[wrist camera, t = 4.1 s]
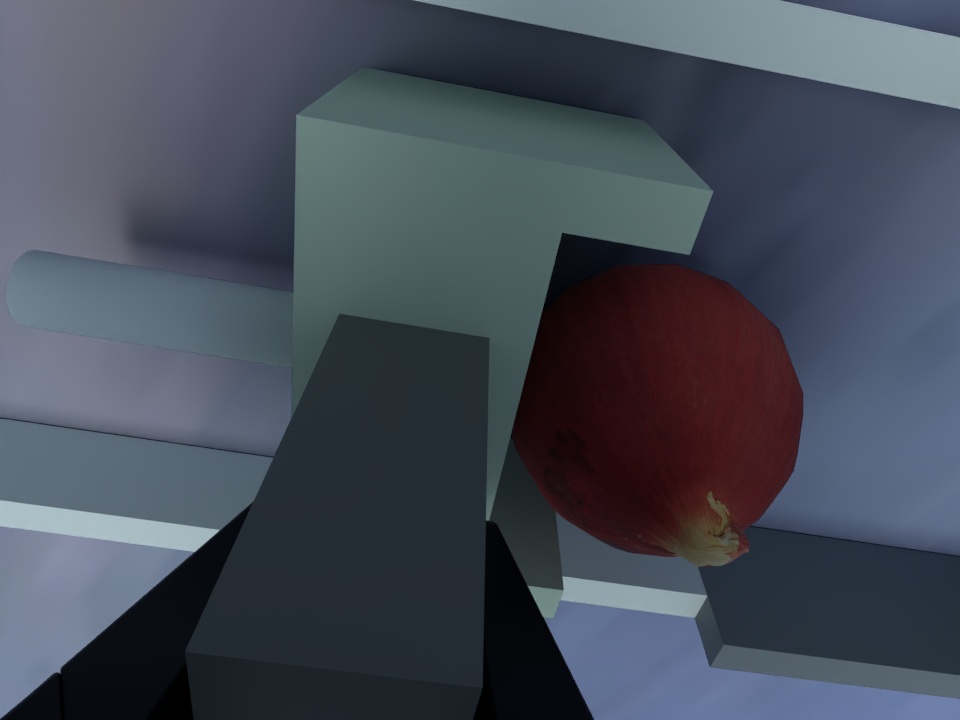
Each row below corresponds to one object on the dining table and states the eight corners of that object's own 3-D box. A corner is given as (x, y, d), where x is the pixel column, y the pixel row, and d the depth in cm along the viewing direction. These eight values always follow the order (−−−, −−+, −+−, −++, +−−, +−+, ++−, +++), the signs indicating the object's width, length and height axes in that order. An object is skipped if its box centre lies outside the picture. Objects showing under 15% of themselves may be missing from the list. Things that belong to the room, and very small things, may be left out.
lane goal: (980, 582, 21) (1166, 816, 16) (-62, 434, 19) (-315, 645, 13) (1389, 131, 14) (2082, 258, 8) (-299, -218, 11) (-1204, -429, 5)
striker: (540, 470, 19) (584, 977, 9) (124, 408, 18) (-291, 898, 8) (645, 120, 13) (989, 476, 4) (60, 9, 12) (-1231, 132, 3)
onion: (614, 441, 19) (681, 713, 12) (462, 332, 17) (439, 580, 10) (778, 307, 16) (982, 553, 9) (621, 162, 14) (734, 336, 8)
